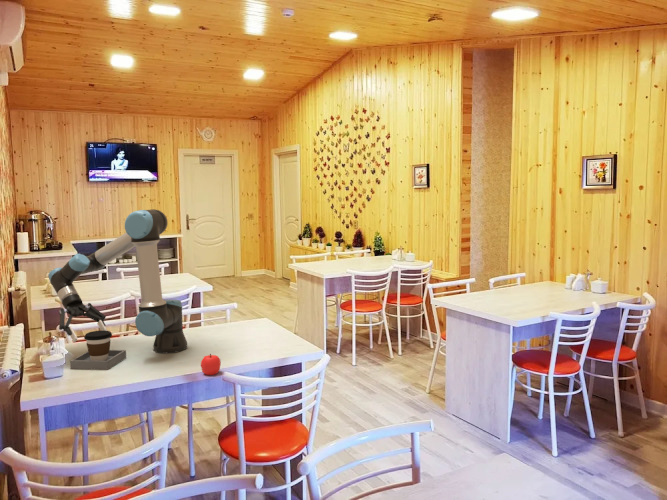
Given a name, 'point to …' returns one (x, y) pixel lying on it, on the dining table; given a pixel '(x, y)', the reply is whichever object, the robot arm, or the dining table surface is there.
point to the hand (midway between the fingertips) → (91, 336)
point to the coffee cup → (98, 344)
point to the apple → (210, 364)
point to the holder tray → (86, 363)
